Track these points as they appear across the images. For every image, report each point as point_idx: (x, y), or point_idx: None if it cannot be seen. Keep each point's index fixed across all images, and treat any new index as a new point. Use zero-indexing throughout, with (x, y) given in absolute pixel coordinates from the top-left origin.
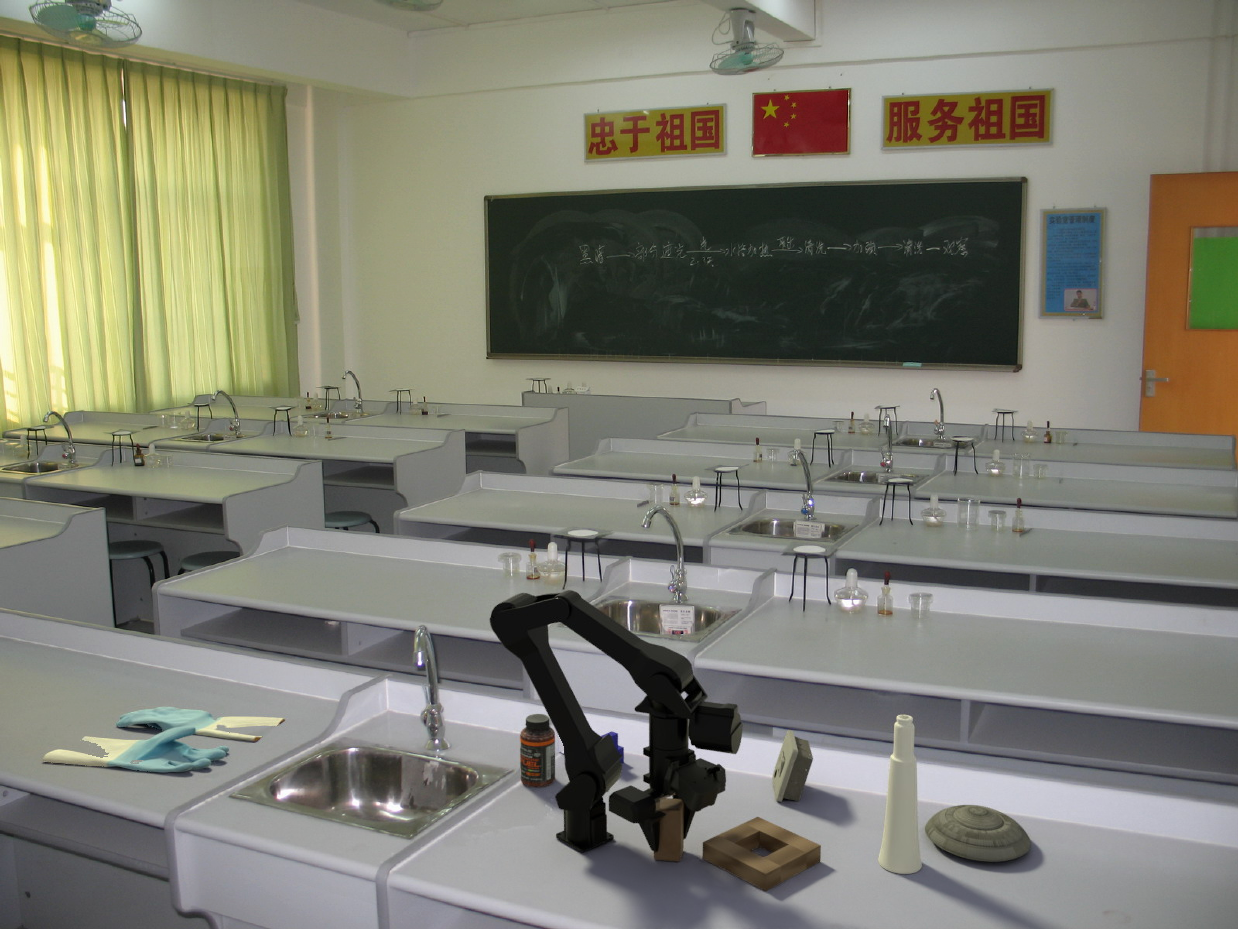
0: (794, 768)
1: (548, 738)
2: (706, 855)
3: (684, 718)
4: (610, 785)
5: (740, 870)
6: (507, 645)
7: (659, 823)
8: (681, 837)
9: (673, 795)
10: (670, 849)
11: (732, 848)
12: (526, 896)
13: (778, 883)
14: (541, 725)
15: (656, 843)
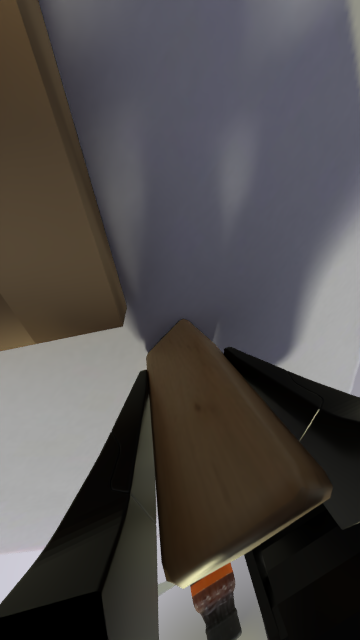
0: None
1: (214, 591)
2: (121, 298)
3: None
4: (355, 577)
5: (51, 69)
6: None
7: (318, 404)
8: (189, 356)
9: (155, 568)
10: (207, 341)
11: (5, 208)
12: (353, 336)
13: None
14: (229, 629)
15: (249, 357)
